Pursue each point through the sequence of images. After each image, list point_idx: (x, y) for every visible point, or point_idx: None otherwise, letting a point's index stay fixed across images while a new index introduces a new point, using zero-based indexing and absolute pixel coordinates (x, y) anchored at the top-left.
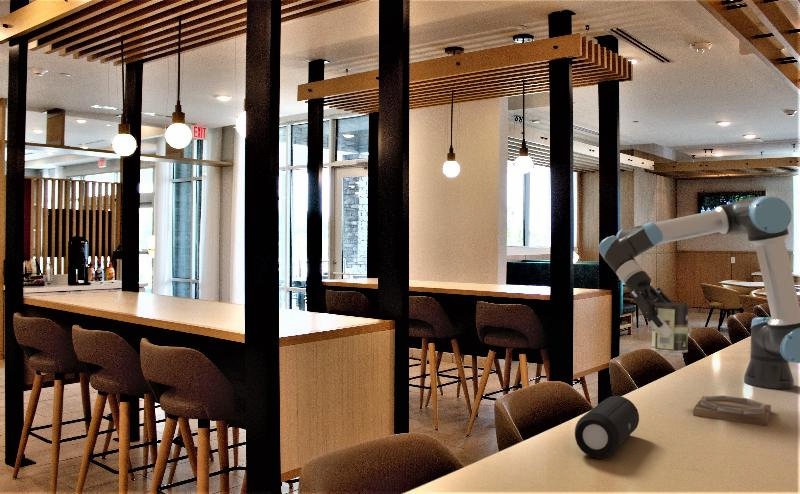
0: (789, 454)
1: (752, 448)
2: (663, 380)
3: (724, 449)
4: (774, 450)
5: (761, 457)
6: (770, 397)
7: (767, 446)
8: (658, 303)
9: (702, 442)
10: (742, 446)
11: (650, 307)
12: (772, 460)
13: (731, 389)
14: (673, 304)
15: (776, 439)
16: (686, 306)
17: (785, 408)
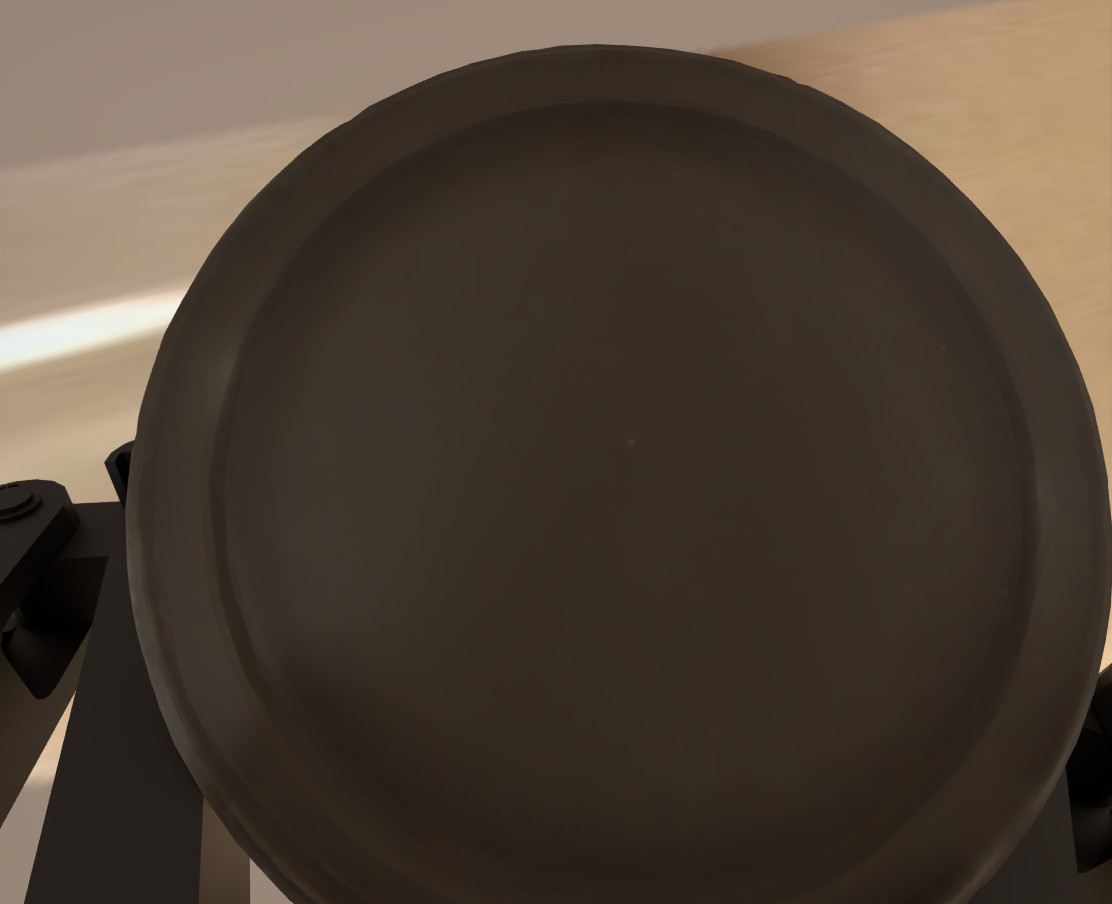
0: (951, 19)
1: (983, 102)
2: (40, 763)
3: (1067, 156)
4: (947, 55)
5: (1050, 65)
6: (118, 231)
7: (922, 77)
8: (675, 833)
9: (1055, 224)
10: (988, 127)
11: (1050, 841)
12: (1051, 39)
13: (46, 405)
14: (599, 396)
15: (817, 75)
16: (698, 68)
17: (309, 143)
